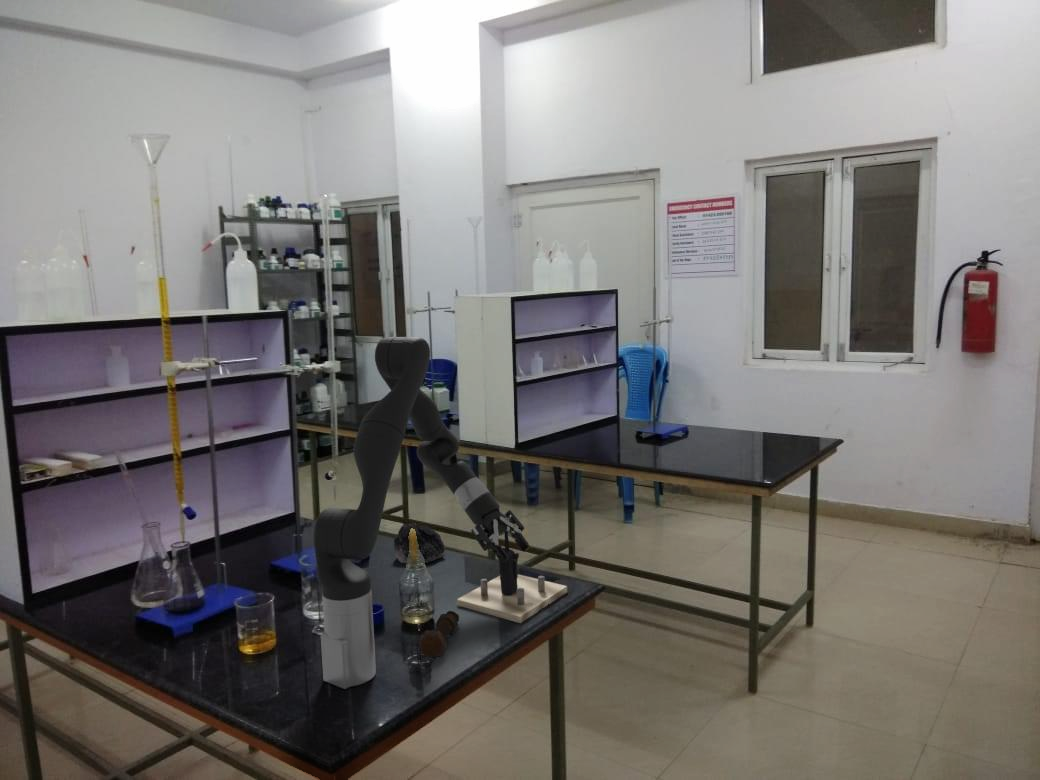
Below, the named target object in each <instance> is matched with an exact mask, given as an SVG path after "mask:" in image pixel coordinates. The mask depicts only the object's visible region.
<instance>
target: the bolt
mask: <svg viewBox="0 0 1040 780" xmlns="http://www.w3.org/2000/svg"><path fill="white" fill-rule="evenodd" d="M459 621H460V616H459V614H458V613H457V612H455V611H453V610H448V611H447V612H446V613H441V614H440V616H439V617H438V619H437V620H436V623H435V624H434V625H435V628H434V629H433V630H425V631H424V633H423V635H422V637H421V638H420V639H419V642H418V648H419V649H420V652H421V654H423V656H425V657H428V658H440V656H441V655H443V652H444V650H445V648H446V647H447V645H448V643H447V642H446V640H447V638H448V637H449V636H453V634H455V632H456V630H457V628H458V626H459Z"/></svg>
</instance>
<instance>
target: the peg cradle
mask: <svg viewBox="0 0 1040 780" xmlns="http://www.w3.org/2000/svg"><path fill="white" fill-rule="evenodd" d="M545 578H546V577H545V576H544V575H538V577H537V578H535V577H532V576H528V575H527V576H526V575H522V574H519V573H518V578H517V590H516V592H515V593H513V594H511V595H503V594H502V592H501V580H500V575H498V576H497V577H494V578H493V579H491V580H489V581H488V579H487V578H482V579H480V586H478V587H476V588H475V589H473V590H471V591H469V592H467V593H466V594H464V595H462V596H461V597H458V598H457V600H456V605H457V606H458V607H462V608H464V609H465V608H466V609H469V610H473V611H477V612H479V613H483V614H486V615H489V616H494V617H497V618H501V619H504V620H508V621H512V622H515V623H518V624H522V623H523V622H524V621H526V620H527V619H529V618H531V617H532V616H534V615H535V614H536V613H538V612H539V610H540V611H541V610H543V609H544V608H545V607H547V606H548V604H549V605H550V604H552V603H553V602H554V601H557V600H558V599H559V598H561V597H562V596H563V595H565V594H567V593H568V586H567V585H564V584H560V583H555V582H552V581H547V580H545ZM542 608H543V609H542Z"/></svg>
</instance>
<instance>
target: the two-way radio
mask: <svg viewBox="0 0 1040 780" xmlns="http://www.w3.org/2000/svg"><path fill="white" fill-rule="evenodd" d="M504 534H505V535H504V547H502V548H503V549H504V551H505V552H506V553H507V555H508V556H509V558H508V559H507V560H506V561H505V562H504V563H502V562H501V561H500V560H499V559H498V565H499V567H498V569H499V576H500V580H501V592H502V594H503V595H511V594H513V593H515V592H516V590H517V578H518V574H519V573H518V572H519V570H518V560H519V557H520V554H519V553H518V552H517V553H515V551H514V550H512V549H510V541H509V540H510V539H509V536H508V531H507V530H505V531H504Z"/></svg>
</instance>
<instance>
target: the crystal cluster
mask: <svg viewBox="0 0 1040 780" xmlns="http://www.w3.org/2000/svg"><path fill="white" fill-rule="evenodd" d="M411 528H413V529H415V531H416V536H417V541H418V544H419V550H420V552H421V553H422V555H423V557H424V559H425V561H426V564H427V563H430V562H433V561H436V560H437V559H440V558H442V557H444V556H445V549H446V548H445V543H444V542H443V540H442V538H441V535H440V534H439V533H438V532H437V531H435V530H434V529H431V528H430V527H429V526H426V525H420V524H418V523H417V524H416V523H410V524H408V525H407V524H404V525H402V526H401V527H400V528H399V530H398V532H397V534H396V535H395V537H394V539H393V548H394V551H393V552H394V556H395V558H396V559H397V560H398V562H400V563H401V564H407V563H406V561H407V558H408V554H409V540H408V536H409V532H410V529H411Z"/></svg>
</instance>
